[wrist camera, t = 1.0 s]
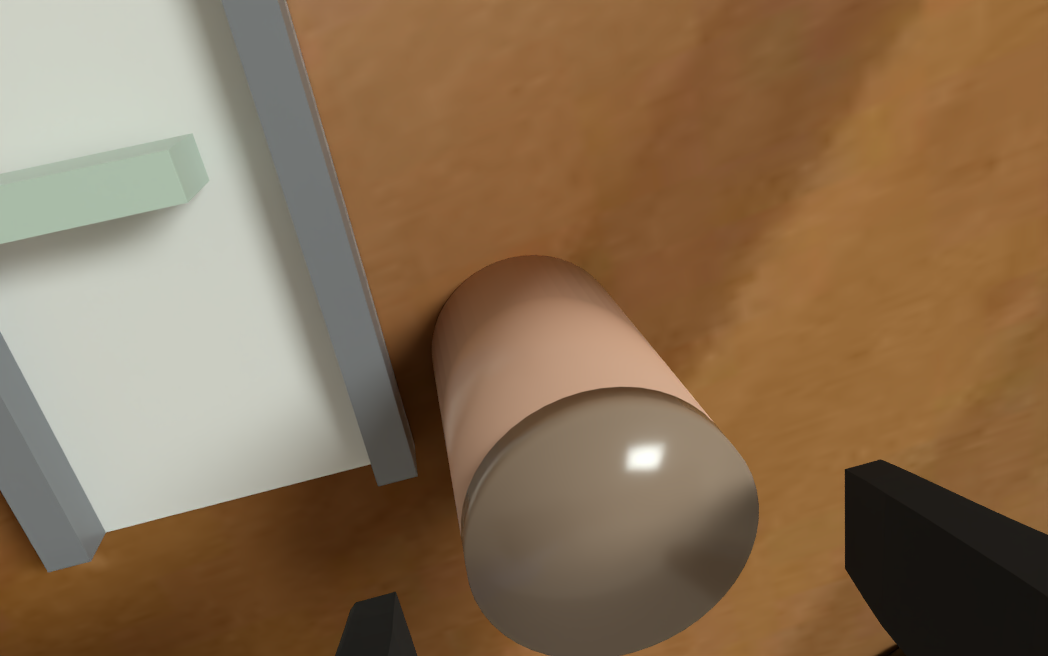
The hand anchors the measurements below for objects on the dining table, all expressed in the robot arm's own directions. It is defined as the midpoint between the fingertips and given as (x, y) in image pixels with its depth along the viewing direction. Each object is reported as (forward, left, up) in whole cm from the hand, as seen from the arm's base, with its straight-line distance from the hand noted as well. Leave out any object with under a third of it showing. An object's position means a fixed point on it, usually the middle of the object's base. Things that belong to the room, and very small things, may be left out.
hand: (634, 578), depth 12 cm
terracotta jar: (0, 0, -9) cm, 9 cm away
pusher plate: (-8, +7, -8) cm, 13 cm away
